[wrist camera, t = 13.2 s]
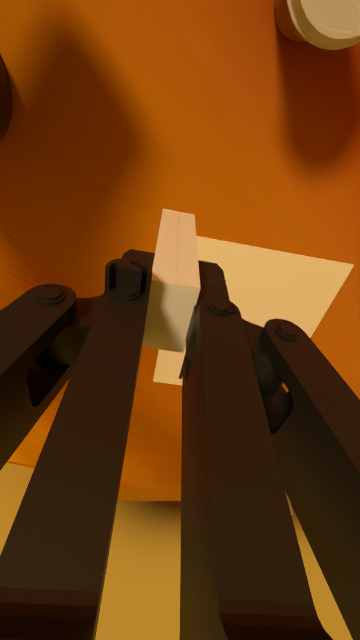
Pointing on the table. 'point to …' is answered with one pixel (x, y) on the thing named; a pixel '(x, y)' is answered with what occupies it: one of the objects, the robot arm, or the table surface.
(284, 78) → the table surface
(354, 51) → the table surface
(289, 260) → the card
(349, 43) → the disposable coffee cup
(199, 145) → the table surface
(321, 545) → the robot arm
